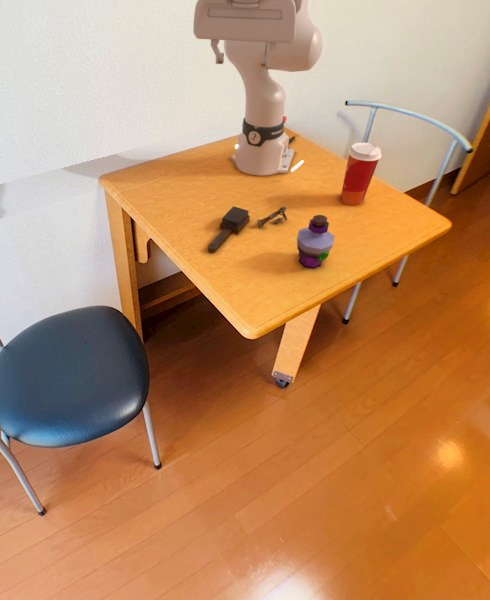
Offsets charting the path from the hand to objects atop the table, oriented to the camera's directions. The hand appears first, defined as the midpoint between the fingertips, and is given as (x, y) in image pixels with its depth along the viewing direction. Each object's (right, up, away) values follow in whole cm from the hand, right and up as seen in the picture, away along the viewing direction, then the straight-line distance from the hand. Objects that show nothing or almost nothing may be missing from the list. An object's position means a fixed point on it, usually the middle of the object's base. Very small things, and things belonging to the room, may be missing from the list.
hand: (241, 64), depth 90 cm
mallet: (-2, -32, +20) cm, 38 cm away
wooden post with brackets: (+10, -29, +23) cm, 39 cm away
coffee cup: (+34, -21, +31) cm, 51 cm away
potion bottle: (+17, -40, +12) cm, 45 cm away
